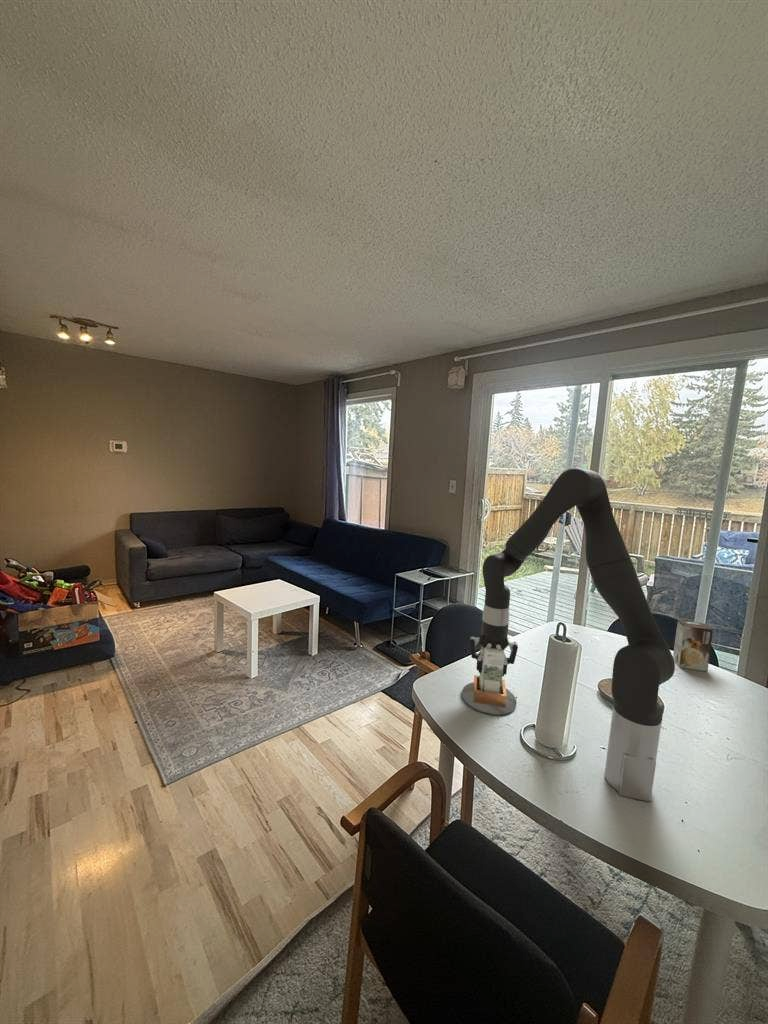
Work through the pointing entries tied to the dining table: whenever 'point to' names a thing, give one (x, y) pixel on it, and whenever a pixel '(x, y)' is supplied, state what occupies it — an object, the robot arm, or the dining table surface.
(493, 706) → the rosette socket
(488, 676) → the syrup box
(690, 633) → the coffee box
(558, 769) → the dining table surface
